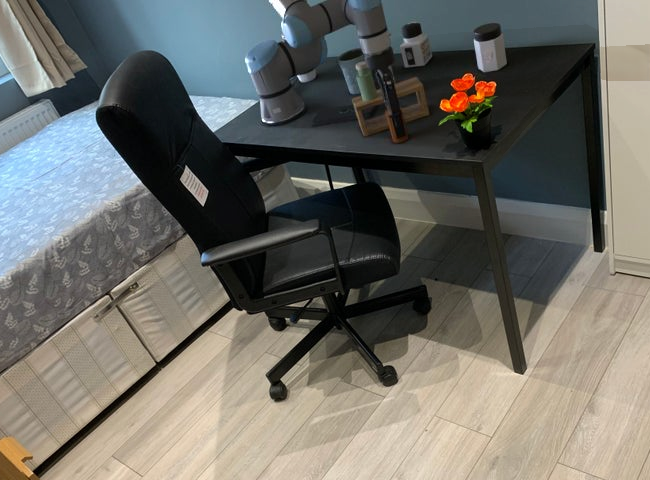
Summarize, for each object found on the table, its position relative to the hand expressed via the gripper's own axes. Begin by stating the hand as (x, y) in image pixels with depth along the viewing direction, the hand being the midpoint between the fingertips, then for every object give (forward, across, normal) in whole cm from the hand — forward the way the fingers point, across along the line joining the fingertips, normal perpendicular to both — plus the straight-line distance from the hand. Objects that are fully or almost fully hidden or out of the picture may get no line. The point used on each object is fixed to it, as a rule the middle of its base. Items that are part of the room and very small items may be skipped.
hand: (399, 133), depth 175 cm
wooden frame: (+2, +14, -1) cm, 14 cm away
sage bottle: (-7, +14, +4) cm, 16 cm away
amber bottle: (+2, 0, 0) cm, 2 cm away
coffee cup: (+2, +77, +19) cm, 80 cm away
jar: (+2, +29, -37) cm, 47 cm away
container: (+2, +55, -19) cm, 58 cm away
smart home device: (+2, +30, +12) cm, 32 cm away
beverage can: (+2, +32, -4) cm, 32 cm away
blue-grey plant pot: (+2, +48, +3) cm, 48 cm away
